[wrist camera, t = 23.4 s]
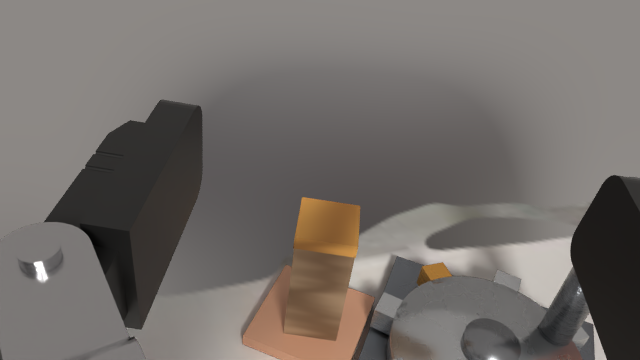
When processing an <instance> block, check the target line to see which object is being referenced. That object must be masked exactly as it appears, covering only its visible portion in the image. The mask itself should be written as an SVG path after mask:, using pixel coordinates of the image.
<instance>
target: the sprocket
mask: <svg viewBox="0 0 640 360" xmlns="http://www.w3.org/2000/svg"><path fill="white" fill-rule="evenodd" d="M629 178H635V179H640V178H637V177H629ZM520 282H521V279H520V278H517V277H515V276H512V275H510V274H507V273H505V272H502V271H500V270H497V272H496V274H495V276H494V279H493V281H489V280H486V279H481V278H475V277H466V276H452V275H451V274H450V272H449V271H448V269H447V268H446V266H445V265H444V263H437V264H432V265H426V266H422V268H421V271H420V274H419V277H418V280H417V284H418V287H417V288H415V289H414V290H413V291H411V292H410V293H409V294H408V295H407V296H406V297H405V298H404V300H401V299H399V298H396V297H394V296H392V295H390V294H387V293H385V292H384V293H383V295H382V296H381V298H380V300H379V302H378V304H377V306H376V308H375V310H374V313H373V317H372V320H371V324H370V326H371V327H373V328H375V329H377V330H379V331H381V332H384V333H386V334H388V335H389V336H388V342H387V360H583V359H582V357H581V355H580V353H579V352H580V350H581V349H582V347H583V346H584V344H585V343H586V342H587V340H588V339H589V336H588V334H587V333H586V332H585V331H584V330H583V328H582V327H581V325H582V324H583V322H584V321H585V319H586V318H587V316H588V315H589V313H590V311H589V308H588V306H587V303H586V300H585V297H584V294H583V292H582V289H581V286H580V283H579V281H578V278H577V275H576V272H575V270H574V267H572V269H571V271H570V273H569V274H568V276H567V278H566V279H565V281H564V283H563V285H562V286H561V288H560V290H559V292H558V293H557V295H556V297H555V298H554V300H553V302H552V304H551V305H550V307H549V309H548V310H547V311H546V310H545V309H544V308H542V307H541V306H540V305H539V304H537V303H536V302H534V301H533V300H531V299H530V298H528V297H527V296H525V295H523V294H521V293H519V292H518V290H519V286H520Z"/></svg>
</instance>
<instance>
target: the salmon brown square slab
mask: <svg viewBox="0 0 640 360" xmlns="http://www.w3.org/2000/svg"><path fill="white" fill-rule="evenodd" d="M291 269H292V267H291V266H288V265H285V267H284V269H283V270H282V272H281V274H280V275H279V277H278V279H277V280H276V282H275V284H274V285H273V287H272V289H271V290H270V292H269V294H268V295H267V297H266V298H265V300H264V302H263V303H262V305H261V307H260V308H259V310H258V312H257V313H256V315H255V317H254V318H253V320H252V322H251V323H250V325H249V327H248V328H247V330H246V332H245V333H244V335H243V344H244V345H246V346H249V347H251V348H254V349H256V350H259V351H261V352H264V353H266V354H268V355H271V356H273V357H276V358H278V359H281V360H352V358H353V355H354V353H355V350H356V348H357V345H358V343H359V340H360V337H361V335H362V332H363V330H364V327H365V324H366V322H367V319H368V317H369V314H370V312H371V309H372V306H373V303H374V300H375V297H372V296H370V295H367V294H364V293H362V292H359V291H356V290H353V289H351V288H348V290H347V295H346V299H345V303H344V308H343V312H342V317H341V321H340V326H339V330H338V335H337V339H336V341H331V340H324V339H318V338H311V337H305V336H298V335H291V334H285V333H284V325H285V317H286V309H287V301H288V293H289V285H290V277H291Z"/></svg>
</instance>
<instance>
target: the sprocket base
mask: <svg viewBox="0 0 640 360" xmlns="http://www.w3.org/2000/svg"><path fill="white" fill-rule="evenodd" d="M422 266H424V265H421V264H418V263H415V262H412V261H410V260H407V259H404V258H401V257H398V256H397V258H396V261H395V263H394V266H393V269H392V271H391V274H390V277H389V279H388V282H387V285H386V287H385V290H384V292H385V293H387V294H390V295H392V296H394V297H396V298H399V299H401V300H404V298H405V297H406V296H407V295H408V294H409V293H410V292H411V291H413V290H414V289H415V288H417V287H418V284H417V280H418V277H419V274H420V271H421V268H422ZM452 276H453V275H452ZM541 307H542V306H541ZM542 308H544V309H545V310H546V311H547V310H548V309H547V308H545V307H542ZM581 327H582V328H583V330H584V331H585V332H586V333H587V334H588V336H589V339H588V340H587V342H586V343H585V344H584V346H583V347H582V349H581V350H580V352H579V353H580V355H581V357H582V359H583V360H595V355H594V331H593V324H591V323H588V322H585V321H584V322H583V324H582V325H581ZM388 336H389V335H388V334H386V333H384V332H381V331H379V330H377V329H375V328H373V327H370V330H369V332H368V335H367V338H366V340H365V343H364V346H363V348H362V351H361V354H360V356H359V359H358V360H387V342H388Z"/></svg>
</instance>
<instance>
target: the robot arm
mask: <svg viewBox="0 0 640 360" xmlns="http://www.w3.org/2000/svg"><path fill="white" fill-rule="evenodd" d="M201 180H202V110H201V107H200V106H197V105H191V104H185V103H179V102H173V101H167V100H160V101H159V103H158V104H157V105H156V107H155V108H154V110H153V111H152V113H151V114H150V116H149V118H148V119H147V121H146V122H145V123H143V122H137V121H131V120H130V121H128V122H127V123H125V124H123V125H122V126H120V127H119V128H117V129H115V130H114V131H112V132H110V133H109V134H108V135H107V136H106V138H105V139H104V140H103V142H102V143H101V145H100V146H99V147H98V149H97V150H96V154H93V155H92V157H91V158H90V160H89V161H88V162H87V164H86V167H85V169H82V171H81V172H80V173H79V175H78V176H77V177H76V179H75V180H74V182H73V183H72V184H71V186H70V187H69V188H68V190H67V191H66V193H65V194H64V195H63V197H62V198H61V199H60V201H59V202H58V204H57V205H56V206H55V208H54V209H53V210H52V212H51V213H50V215H49V216H48V217H47V219H46V220H45V221H44V222H43V223H36V224H32V225H28V226H25V227H22V228H20V229H17V230H15V231H13V232H11V233H9V234H8V235H6V236H4V237H3V238H2V239H1V240H0V360H146V359H145V356H144V354H143V352H142V349H141V347H140V345H139V343H138V341H137V340H136V338H135V337H131V338H130V337H129V335H128V333H127V330H126V328H125V327H128V328H134V329H140V330H141V329H142V327H143V325H144V322H145V320H146V317H147V315H148V313H149V310H150V308H151V306H152V303H153V301H154V299H155V296H156V294H157V292H158V289H159V287H160V284H161V282H162V280H163V277H164V275H165V273H166V270H167V268H168V266H169V263H170V261H171V259H172V256H173V254H174V251H175V249H176V247H177V244H178V242H179V240H180V237H181V235H182V233H183V230H184V228H185V226H186V223H187V221H188V219H189V216H190V214H191V212H192V209H193V207H194V205H195V202H196V200H197V197H198V193H199V190H200V185H201ZM570 253H571V261H572V264H573V267H574V270H575V272H576V275H577V278H578V281H579V283H580V286H581V289H582V292H583V294H584V297H585V300H586V303H587V306H588V308H589V311H590V314H591V317H592V319H593V322H594V325H595V328H596V330H597V333H598V336H599V339H600V341H601V344H602V347H603V350H604V353H605V355H606V358H607V360H640V179H635V178H629V177H623V176H616V175H613V176H610V177H609V178H607V179H606V180H605V182H604V183H603V184H602V186H601V188H600V189H599V191H598V193H597V194H596V196H595V198H594V200H593V201H592V203H591V205H590V206H589V208H588V210H587V211H586V213H585V215H584V217H583V218H582V220H581V222H580V223H579V225H578V227H577V228H576V230H575V232H574V235H573V238H572V242H571V250H570Z"/></svg>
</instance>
